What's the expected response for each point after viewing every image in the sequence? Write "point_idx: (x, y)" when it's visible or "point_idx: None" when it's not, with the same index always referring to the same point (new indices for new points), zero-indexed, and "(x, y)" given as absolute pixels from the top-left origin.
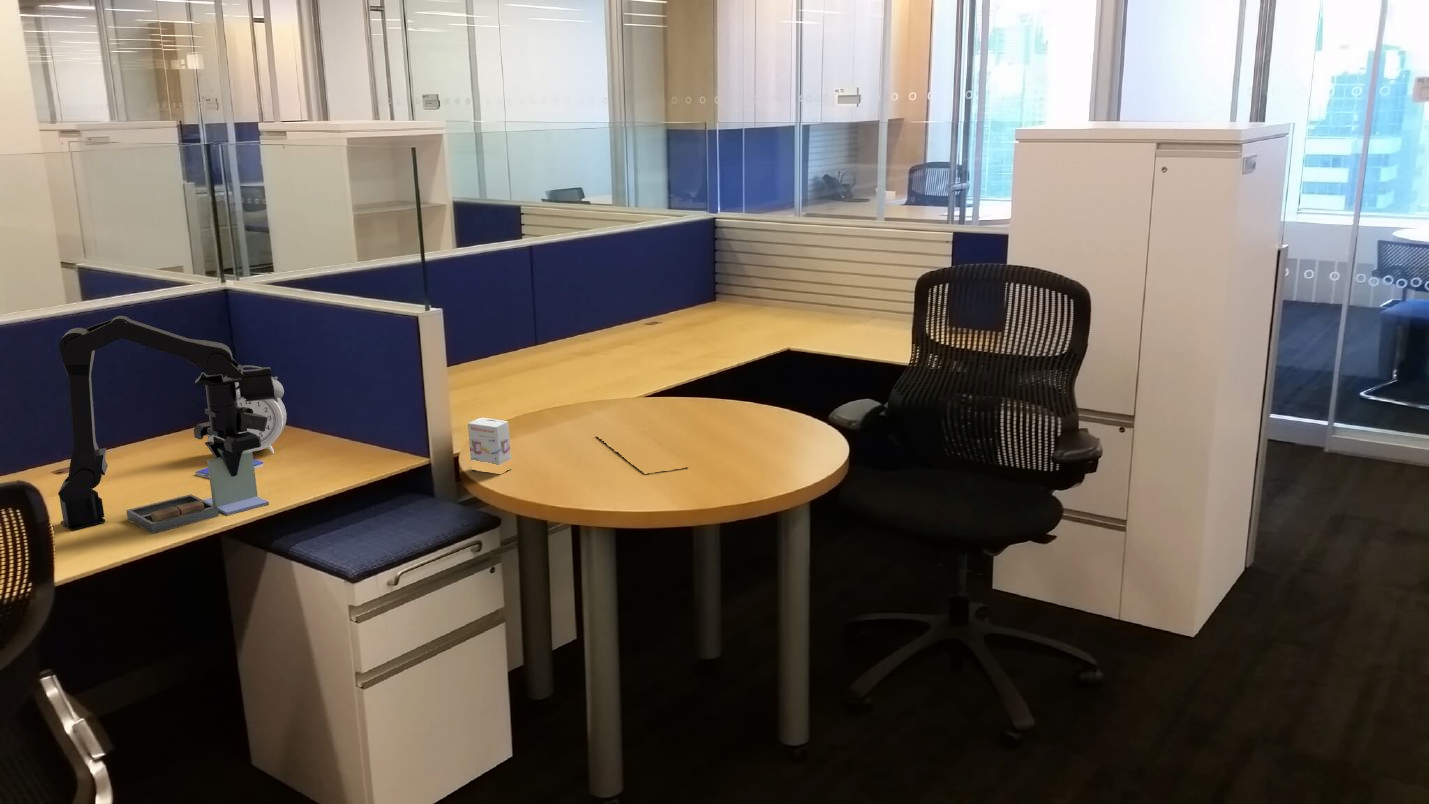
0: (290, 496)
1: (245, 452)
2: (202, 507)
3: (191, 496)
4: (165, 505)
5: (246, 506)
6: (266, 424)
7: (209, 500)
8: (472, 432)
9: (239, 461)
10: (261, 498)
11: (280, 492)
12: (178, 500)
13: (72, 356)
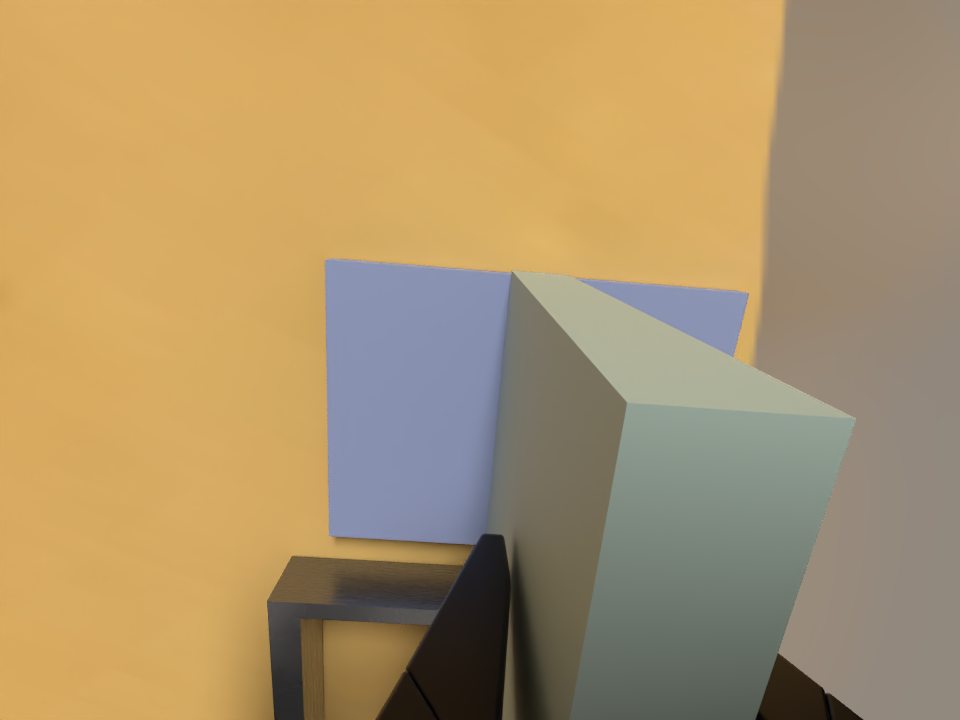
0: (734, 74)
1: (705, 549)
2: None
3: (317, 618)
4: (313, 718)
5: None
6: None
7: (373, 511)
8: None
9: (818, 693)
10: (639, 285)
11: (572, 63)
12: (306, 669)
13: None
